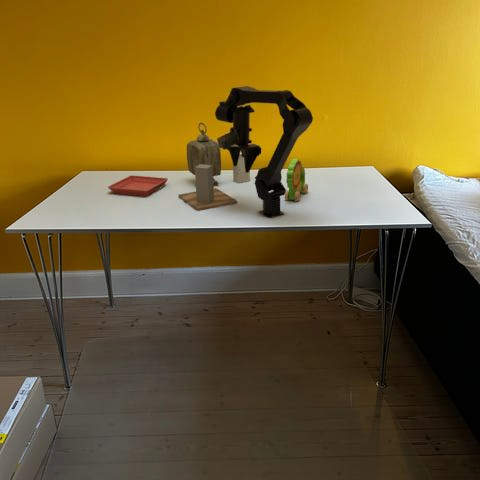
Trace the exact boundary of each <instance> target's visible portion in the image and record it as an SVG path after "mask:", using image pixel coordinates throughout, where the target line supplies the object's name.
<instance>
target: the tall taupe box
mask: <svg viewBox="0 0 480 480" xmlns="http://www.w3.org/2000/svg"><path fill="white" fill-rule="evenodd" d="M194 178H195V179H194V180H195V192H196V198H197V202H202V203H210V202H211V201H213V200H214V188H215V184H214V181H213V178H214V176H213V165H204V164H200V165H198V166H196V167H195V175H194Z"/></svg>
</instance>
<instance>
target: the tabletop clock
mask: <svg viewBox="0 0 480 480" xmlns="http://www.w3.org/2000/svg"><path fill="white" fill-rule="evenodd" d="M201 125H202V126H203V127H204V129H205V131H204V129H200V127H201ZM198 131H199V132H200V134H198V135H197V137H196V140H191V141H189V142H187V144H186V160H187V162H186V163H187V169H188V172H189V173H191V174H192V175H193V176H195V167H196V166H198V165H200V164H204V165H213V185H214V186H218V185H219V183H218V181H216V180H215V177H217V176H218V177H219V176H221V174H222V154H221V148H220V147H219V144H218V141H217V140H214V139H212V138H210V137H209V136H208V134H206V133H207V126H206V124H205V123H204V122H200V123H199V124H198Z"/></svg>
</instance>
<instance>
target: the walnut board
mask: <svg viewBox="0 0 480 480" xmlns="http://www.w3.org/2000/svg"><path fill="white" fill-rule="evenodd" d="M178 198H179V199H181V201H183V202H184V203H186V204H187V205H188V206H190V207H191V208H192V209H194V210H195V211H197V212H199V211H205V210H208V209H214V208H218V207H225V206H229V205H234V204H238V200H237V199H235V198H234V197H232V196H230V195H229V194H227V193H225V192H224V191H222V190H221V189H219V188H217V187H214V200H213V201H211V202H210V203H202V202H197V198H196V191H191V192H186V193H181V194H178Z"/></svg>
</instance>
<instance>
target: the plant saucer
mask: <svg viewBox="0 0 480 480" xmlns="http://www.w3.org/2000/svg"><path fill="white" fill-rule="evenodd" d="M167 182H168V177H167V178H166V177H155V176H145V175H143V176H142V175H128V176H127V177H125V178H122V179H120V180H119V181H116V182H114V183H112V184H111V185H108V186H107V189H109V190H110V191H111V192H113V193H114V194H119V195H128V194H129V195H131V196H138V195H139V196H140V197H147V196H149V195H150V194H152V193H154V192H155V191H157V190H159V189H161V188H162V187H164V185H166V183H167ZM129 195H128V196H129ZM139 196H138V197H139Z"/></svg>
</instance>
